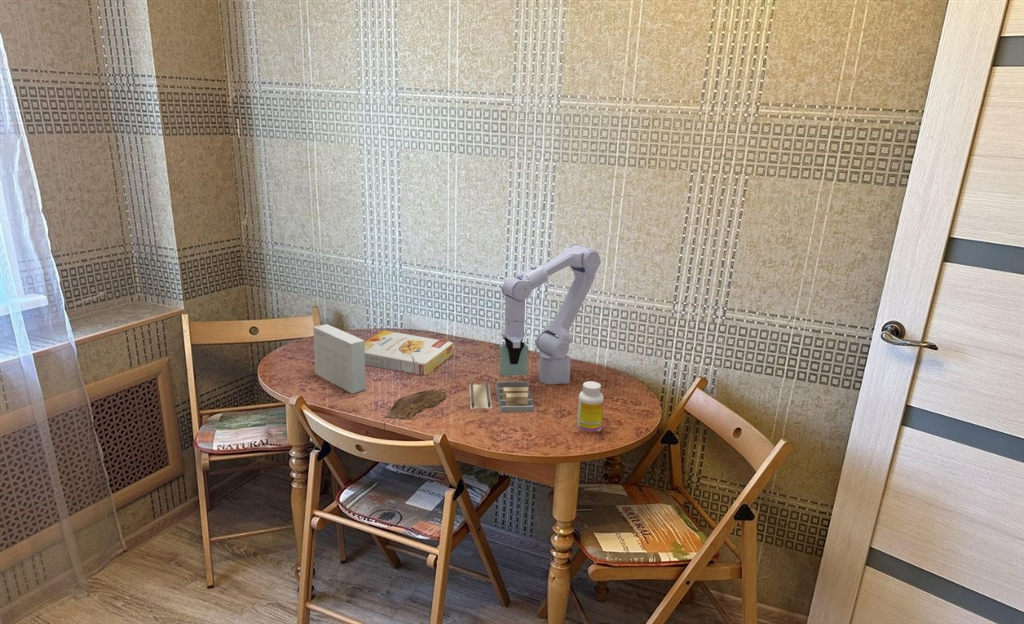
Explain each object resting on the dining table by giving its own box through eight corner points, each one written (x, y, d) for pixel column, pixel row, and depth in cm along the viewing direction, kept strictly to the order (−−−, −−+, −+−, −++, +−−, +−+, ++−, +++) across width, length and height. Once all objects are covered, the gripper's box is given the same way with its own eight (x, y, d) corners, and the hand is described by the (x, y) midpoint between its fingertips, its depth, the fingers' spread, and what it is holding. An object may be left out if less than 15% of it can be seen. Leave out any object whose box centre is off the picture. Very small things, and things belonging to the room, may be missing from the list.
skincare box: (367, 389, 187) (365, 340, 182) (352, 395, 183) (349, 344, 178) (330, 369, 200) (326, 322, 196) (314, 374, 197) (311, 326, 192)
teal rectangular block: (526, 372, 187) (527, 344, 184) (527, 375, 185) (527, 346, 182) (499, 372, 186) (500, 344, 183) (500, 375, 184) (500, 347, 181)
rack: (527, 386, 192) (527, 378, 191) (535, 414, 174) (535, 406, 173) (495, 386, 191) (495, 379, 190) (499, 415, 173) (499, 407, 172)
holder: (488, 387, 190) (488, 379, 189) (491, 411, 175) (492, 403, 174) (469, 387, 190) (469, 380, 189) (470, 411, 175) (470, 403, 174)
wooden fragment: (399, 425, 167) (399, 421, 167) (372, 412, 173) (372, 409, 173) (463, 393, 186) (463, 390, 186) (437, 383, 193) (436, 380, 192)
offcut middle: (526, 399, 181) (527, 386, 179) (527, 403, 178) (528, 390, 177) (502, 399, 180) (503, 387, 179) (503, 403, 178) (503, 391, 176)
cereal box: (382, 329, 222) (454, 340, 213) (383, 343, 224) (454, 354, 215) (350, 349, 204) (426, 362, 195) (351, 364, 206) (427, 378, 197)
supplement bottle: (604, 433, 165) (608, 389, 161) (581, 435, 163) (584, 391, 159) (596, 421, 171) (599, 378, 167) (573, 423, 169) (576, 380, 166)
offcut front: (526, 405, 177) (527, 392, 176) (527, 409, 174) (528, 396, 173) (505, 406, 176) (506, 393, 175) (506, 410, 174) (506, 397, 173)
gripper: (499, 311, 186) (498, 353, 191) (502, 327, 173) (502, 372, 177) (522, 310, 187) (521, 352, 191) (528, 326, 173) (526, 371, 177)
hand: (513, 362), depth 184 cm, fingers closed on teal rectangular block, 2 cm apart
